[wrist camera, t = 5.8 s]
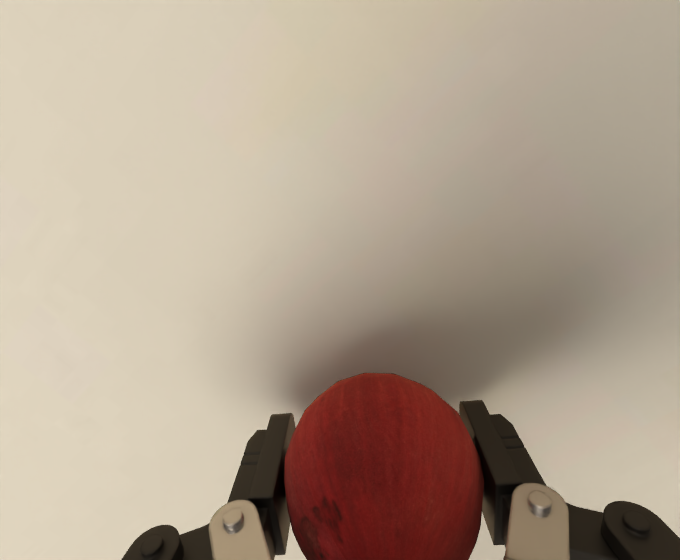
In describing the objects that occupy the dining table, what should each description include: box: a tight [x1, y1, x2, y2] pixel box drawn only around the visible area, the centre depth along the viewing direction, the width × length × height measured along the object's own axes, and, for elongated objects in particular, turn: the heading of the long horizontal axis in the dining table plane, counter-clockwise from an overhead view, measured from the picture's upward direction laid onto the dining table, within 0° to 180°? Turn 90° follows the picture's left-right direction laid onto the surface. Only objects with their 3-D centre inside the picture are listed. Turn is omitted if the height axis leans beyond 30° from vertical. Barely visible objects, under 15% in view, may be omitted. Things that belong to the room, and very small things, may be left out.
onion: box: [284, 373, 484, 560], centre depth 12 cm, size 6×6×8 cm
